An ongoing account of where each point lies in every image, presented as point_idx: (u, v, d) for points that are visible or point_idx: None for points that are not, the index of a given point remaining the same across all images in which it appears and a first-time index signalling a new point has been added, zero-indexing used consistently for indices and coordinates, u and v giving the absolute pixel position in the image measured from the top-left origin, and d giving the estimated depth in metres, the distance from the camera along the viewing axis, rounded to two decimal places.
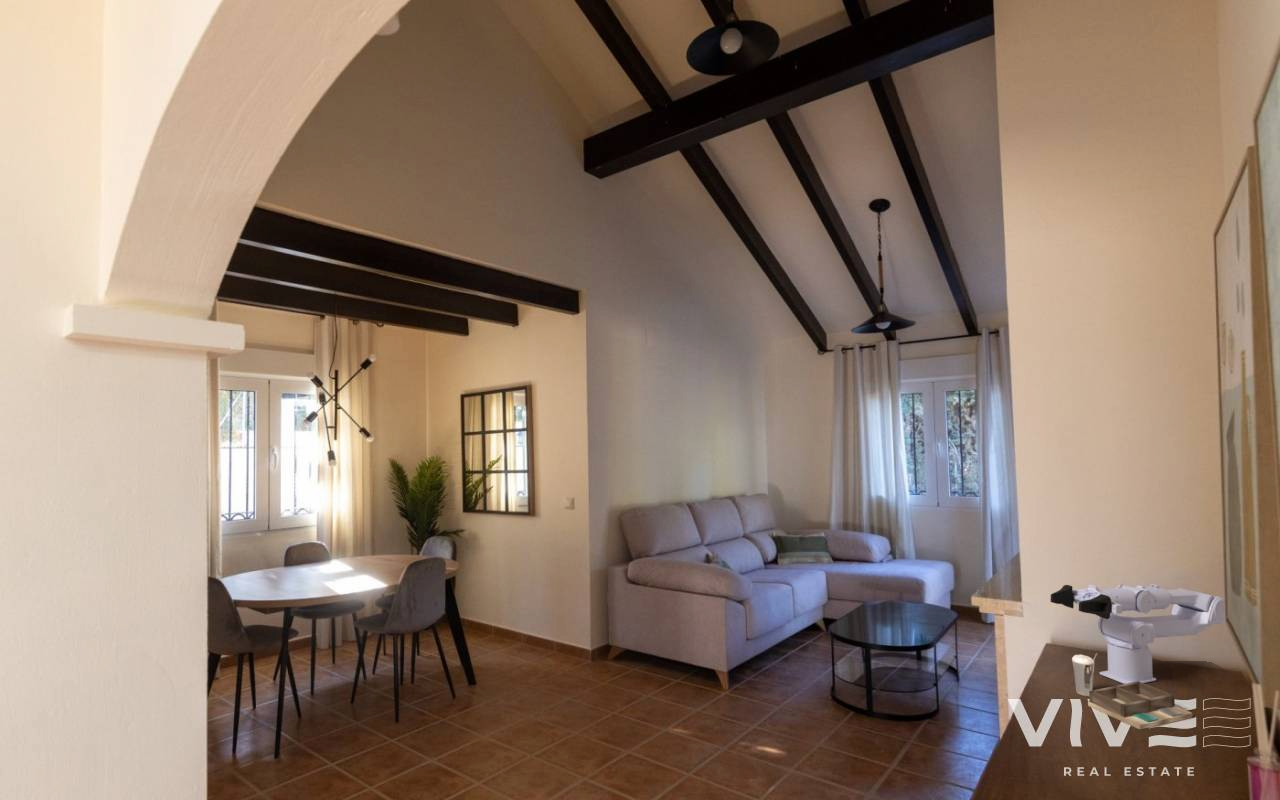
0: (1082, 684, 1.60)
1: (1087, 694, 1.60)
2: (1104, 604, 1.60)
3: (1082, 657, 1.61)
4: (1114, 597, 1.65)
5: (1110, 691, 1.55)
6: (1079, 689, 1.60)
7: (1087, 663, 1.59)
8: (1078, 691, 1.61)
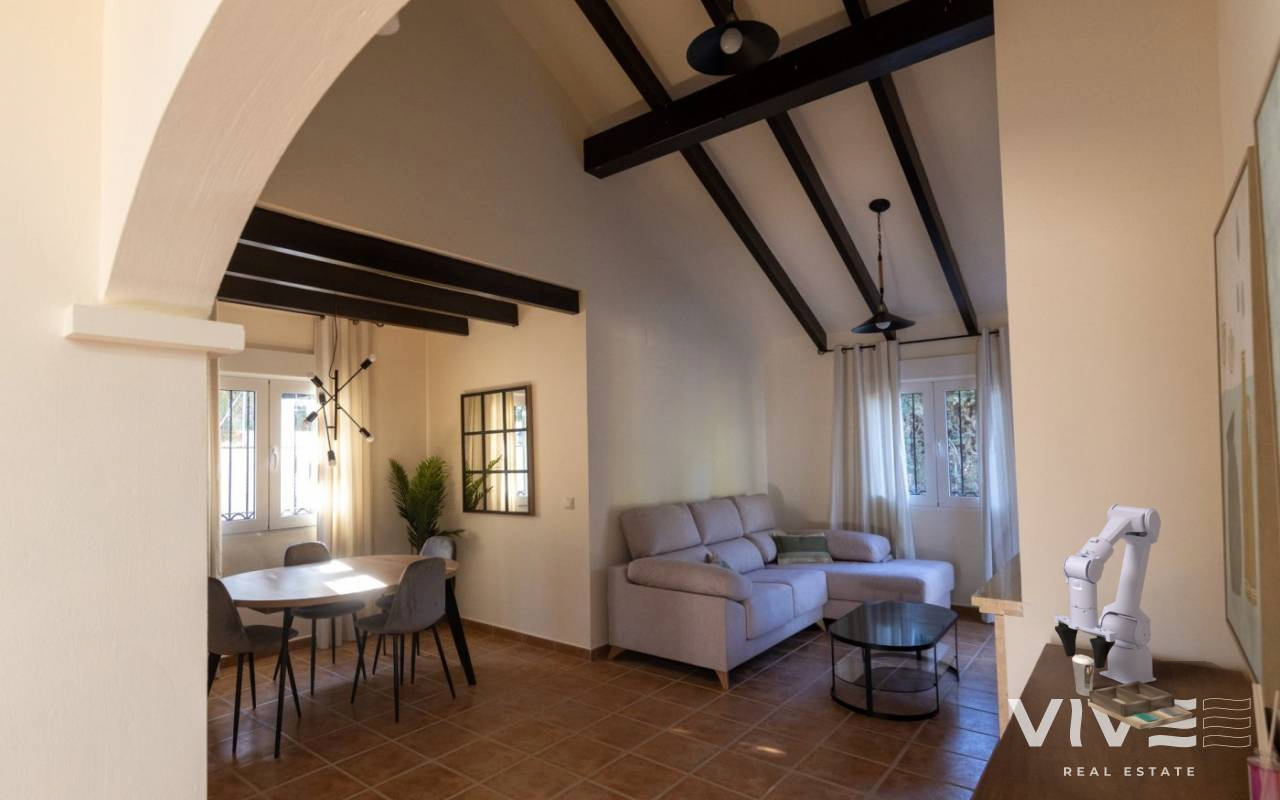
0: (1082, 684, 1.60)
1: (1087, 694, 1.60)
2: None
3: (1082, 657, 1.61)
4: (1088, 611, 1.58)
5: (1110, 691, 1.55)
6: (1079, 689, 1.60)
7: (1087, 663, 1.59)
8: (1078, 691, 1.61)
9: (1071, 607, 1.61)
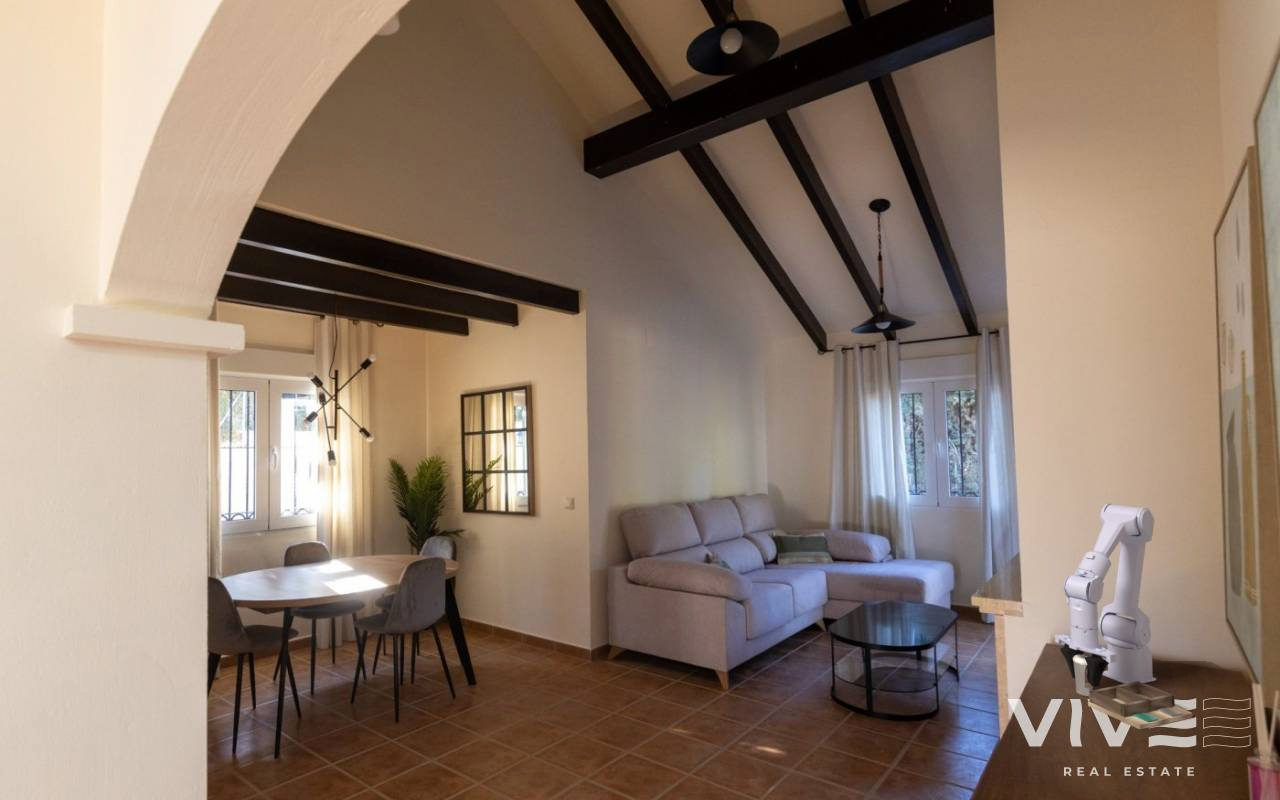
0: (1082, 684, 1.60)
1: (1087, 694, 1.60)
2: None
3: (1083, 657, 1.60)
4: (1089, 632, 1.58)
5: (1110, 691, 1.55)
6: (1079, 689, 1.60)
7: None
8: (1078, 691, 1.61)
9: (1072, 627, 1.61)
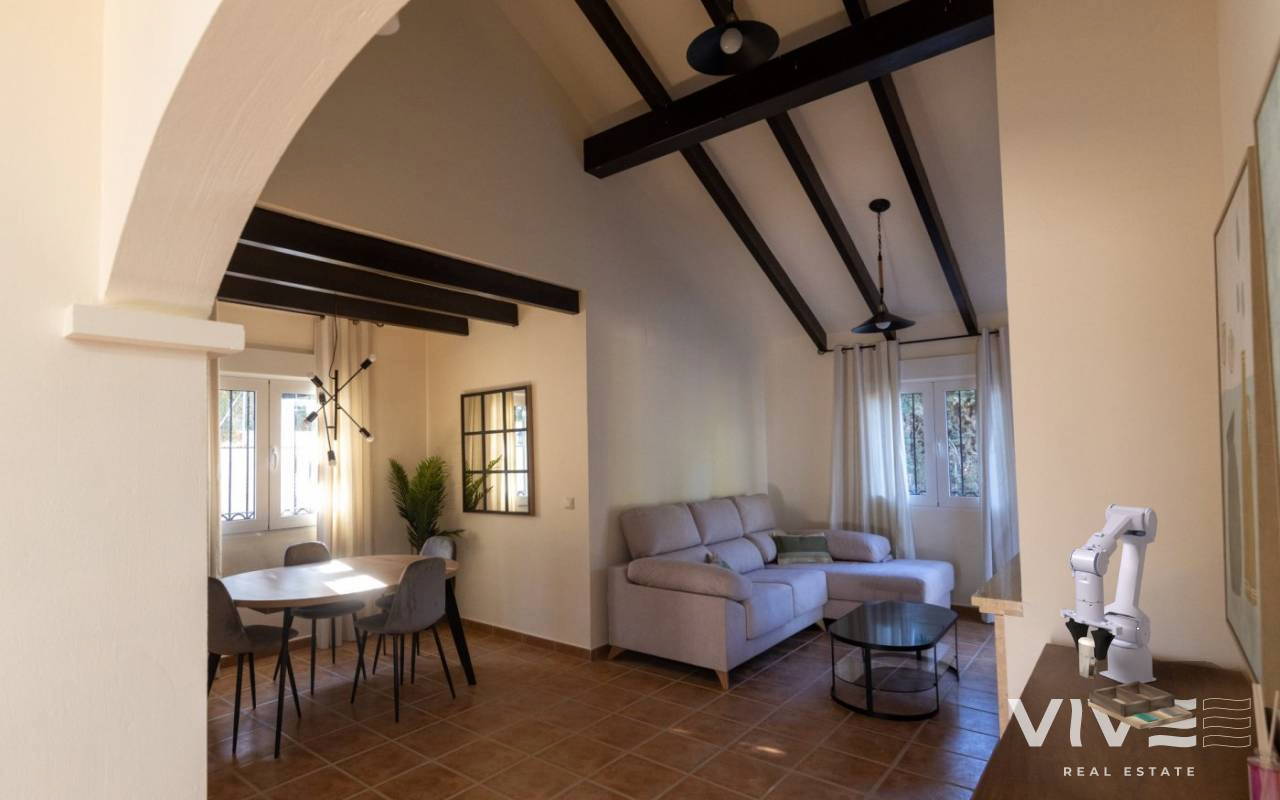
0: (1087, 666, 1.58)
1: (1091, 677, 1.58)
2: None
3: (1089, 639, 1.58)
4: (1094, 605, 1.56)
5: (1110, 691, 1.55)
6: (1083, 671, 1.58)
7: (1093, 646, 1.57)
8: (1081, 673, 1.59)
9: (1077, 601, 1.59)
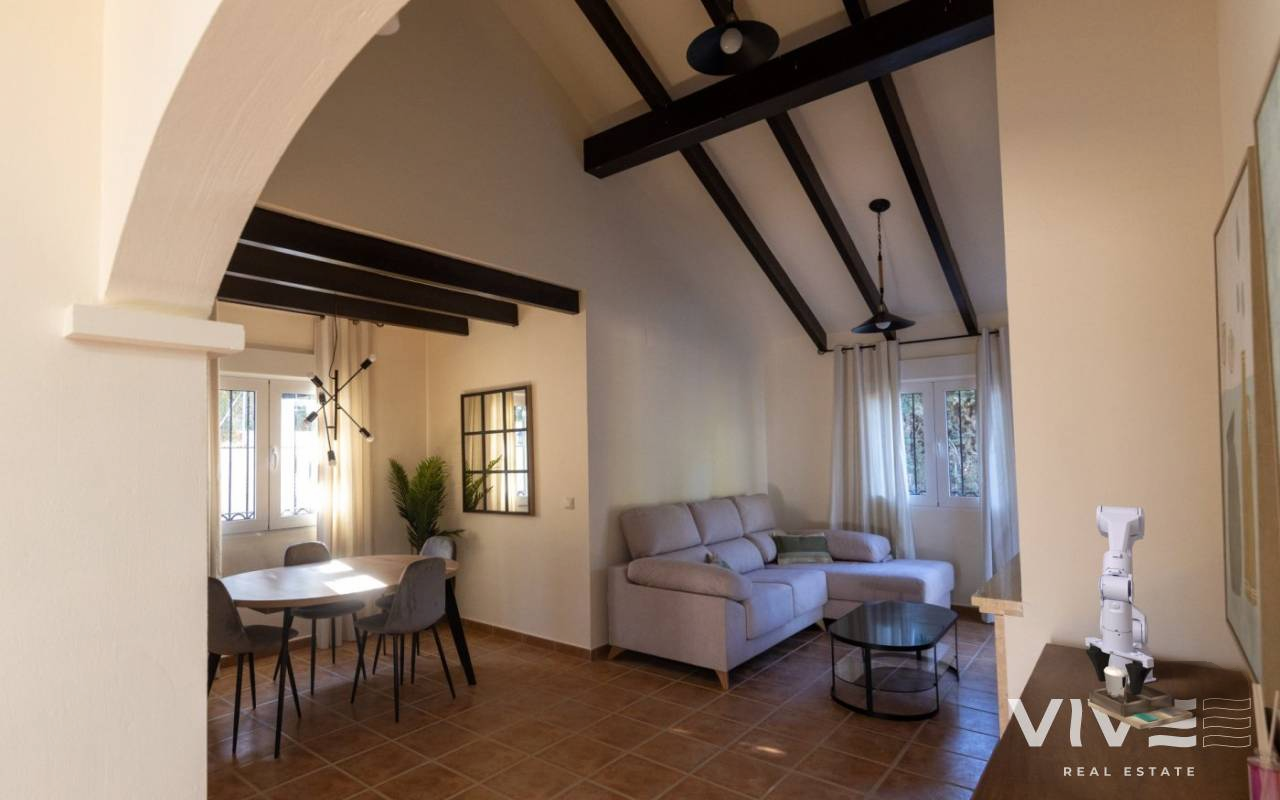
0: (1116, 698, 1.50)
1: None
2: None
3: (1115, 669, 1.51)
4: (1123, 635, 1.49)
5: None
6: None
7: (1121, 676, 1.49)
8: None
9: (1104, 630, 1.52)
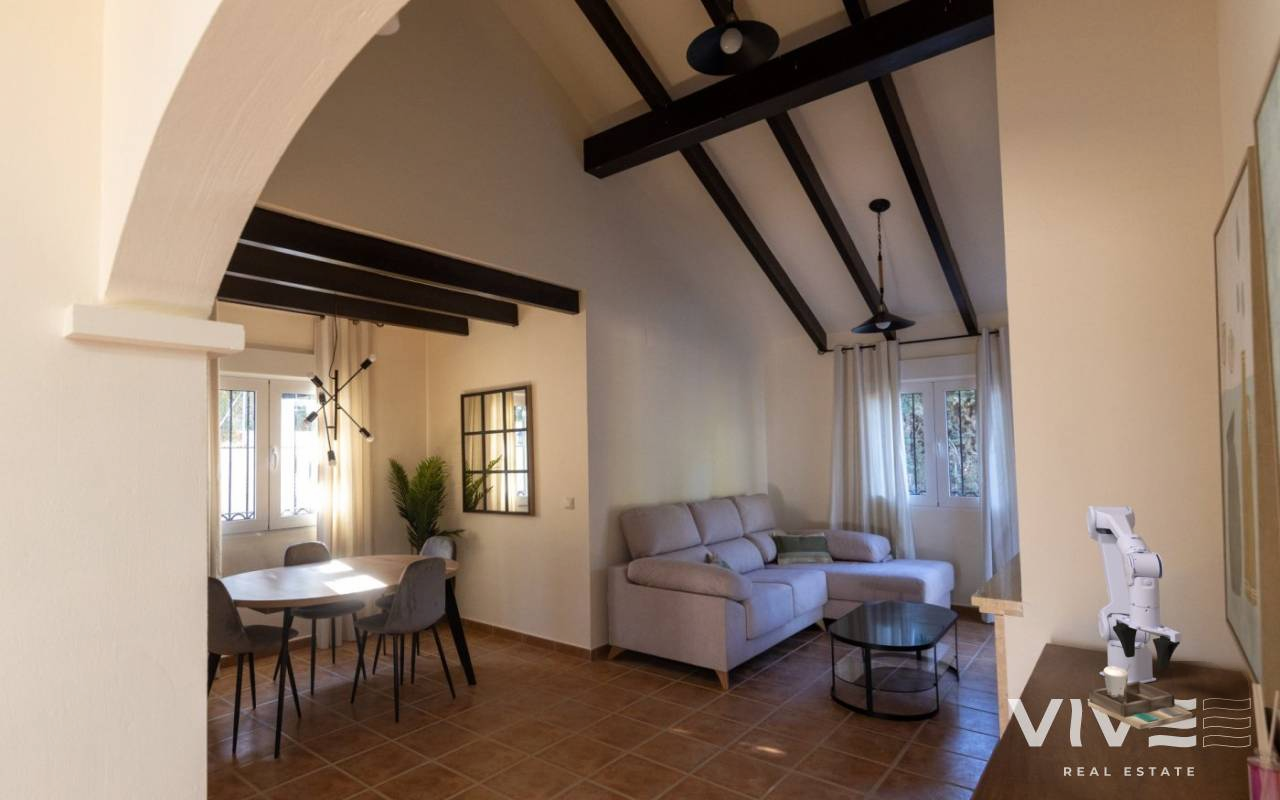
0: (1116, 698, 1.50)
1: None
2: None
3: (1115, 669, 1.51)
4: (1150, 610, 1.52)
5: None
6: None
7: (1121, 676, 1.49)
8: None
9: (1131, 606, 1.54)
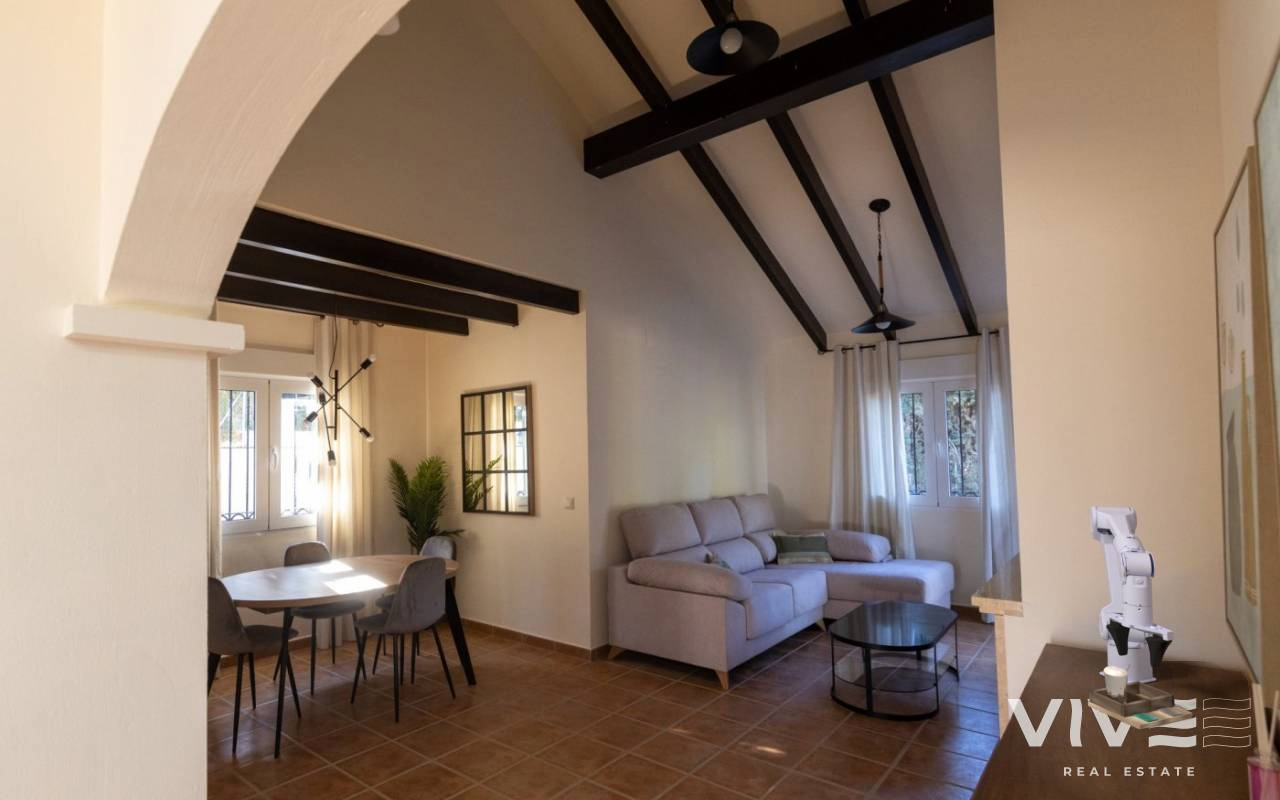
0: (1116, 698, 1.50)
1: None
2: None
3: (1115, 669, 1.51)
4: (1143, 609, 1.53)
5: None
6: None
7: (1121, 676, 1.49)
8: None
9: (1125, 605, 1.56)
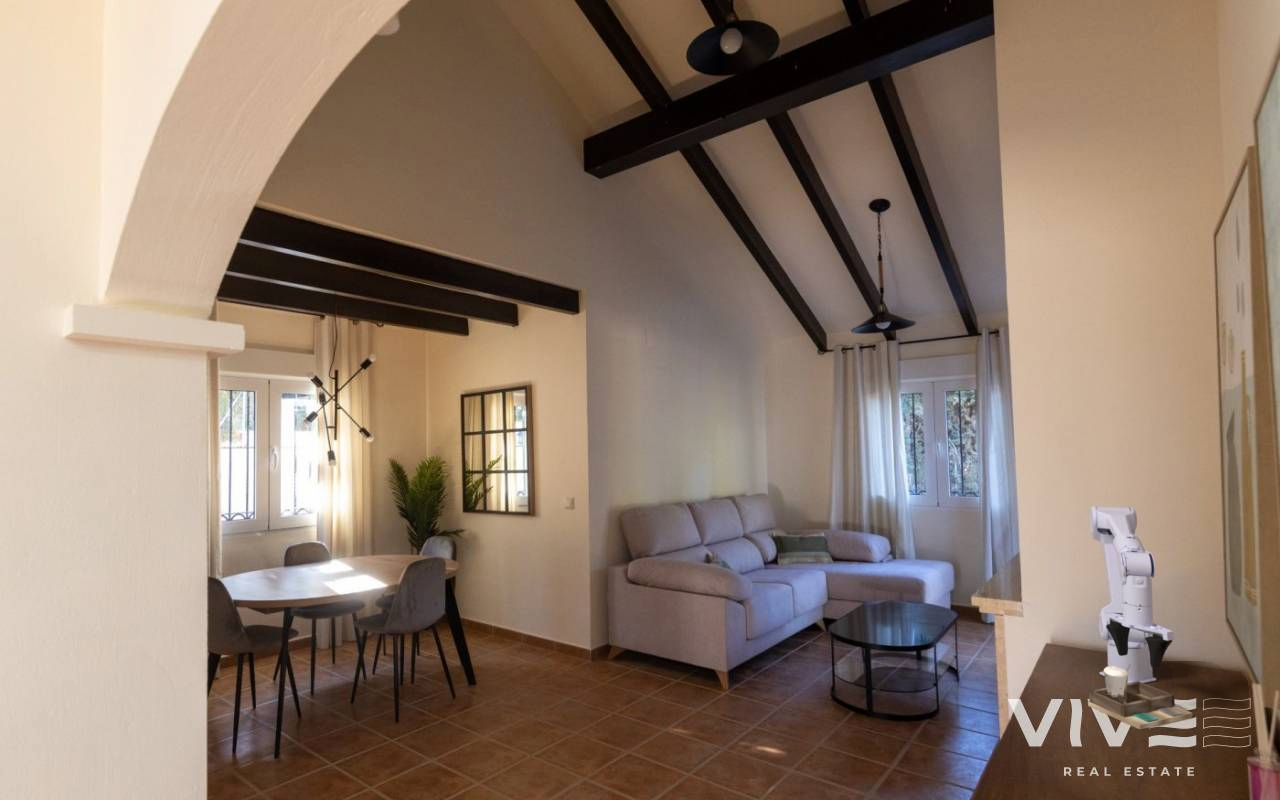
0: (1116, 698, 1.50)
1: None
2: None
3: (1115, 669, 1.51)
4: (1143, 609, 1.53)
5: None
6: None
7: (1121, 676, 1.49)
8: None
9: (1125, 605, 1.56)
